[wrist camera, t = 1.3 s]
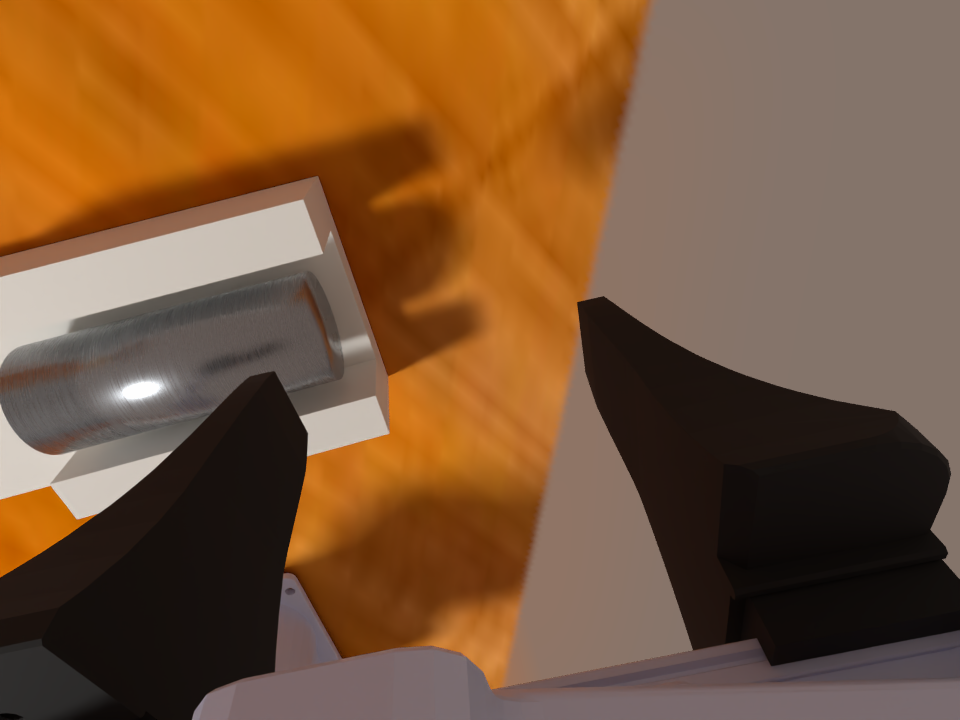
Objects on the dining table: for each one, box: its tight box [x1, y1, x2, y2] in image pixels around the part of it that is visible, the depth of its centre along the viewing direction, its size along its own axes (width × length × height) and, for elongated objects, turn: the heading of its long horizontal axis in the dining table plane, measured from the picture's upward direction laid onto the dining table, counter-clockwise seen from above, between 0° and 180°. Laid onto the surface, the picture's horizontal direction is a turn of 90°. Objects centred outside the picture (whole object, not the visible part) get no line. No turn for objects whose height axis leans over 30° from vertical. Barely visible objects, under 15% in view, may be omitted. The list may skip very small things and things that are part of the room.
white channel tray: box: [0, 176, 389, 519], centre depth 21 cm, size 9×20×4 cm, turn 102°
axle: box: [0, 271, 344, 455], centre depth 20 cm, size 10×4×4 cm, turn 102°
